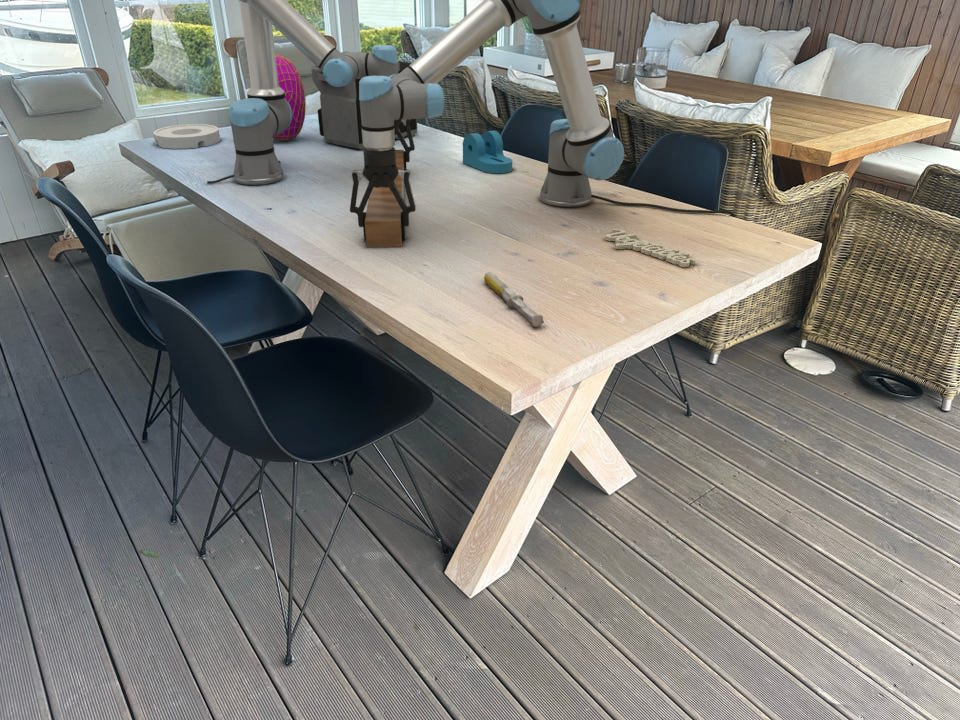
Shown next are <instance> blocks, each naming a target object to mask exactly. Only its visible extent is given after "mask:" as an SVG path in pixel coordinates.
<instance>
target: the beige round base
mask: <svg viewBox="0 0 960 720" xmlns="http://www.w3.org/2000/svg"><path fill="white" fill-rule="evenodd" d="M152 135H153V139H154V143H155V146H158V147H160V148H163V149H173V150H183V149H185V150H186V149H197V148H199V147H208V146H212V145H214V144H215V145H216V144H217V143H219V142H220V141H221V136H220V129H219V127H218V126H216V125H212V124H204V123H186V124H175V125H168V126H163V127H160V128H158V129H155V130H154V131H153V132H152Z"/></svg>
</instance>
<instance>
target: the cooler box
mask: <svg viewBox="0 0 960 720" xmlns="http://www.w3.org/2000/svg"><path fill="white" fill-rule="evenodd" d="M358 52H359V53H367V52H365V51H358ZM397 61H398V73H399V74H400V73H401V72H402V71H403V70H404V69H405V68H407V67H408V66H409V65H410V64H411V63H412V62H408V61H400V60H397ZM311 77H312V83H314V85H315V87H316V89H317V90H318V92H319V101H320V108H319V109H317V119H318V120H317V121H318V128H319V136H321V137H323V139H324V142H325V143H328V144H332V145H336V146H337V145H338V146H342V147H347V148H351V149H356V150H362V151H363V150H364V148H365V147H364V146H363V139H362V122H361V110H360V100H359V82H360V80H361V79H356V80H354V81H352V82H350V83H349V84H347V85H345V86H341V87H334V86H332V85H330V84H329V83H328V82H327V81H326V79H325V77H324V75H323V72H322V71H321V70H320V69H319V68H318V67H317V66H316V65H315V66H312V67H311ZM398 127H399V129H400V132H401V134H402V135H403V137H404V138H405V137H408V135H407V131H406V126H405V125H404V124H403V122H401V123H400V124H399V126H398ZM410 130H411V134H412V137H414V136H415V135H416V134H417V133H418V119H410ZM394 132H395V130H394ZM395 140H399V138H398V136H397V134H396V132H395Z"/></svg>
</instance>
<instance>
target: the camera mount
mask: <svg viewBox="0 0 960 720" xmlns="http://www.w3.org/2000/svg"><path fill="white" fill-rule="evenodd" d="M462 164H463V165H467V166H469V167H472V168H473V169H477V170H479V171H482V172H483V173H487V174H505V173H510V172H512V171H513V159H512V158H510V157H508V156H505V155H504V142H503V138H502V135H501V134H500V132H499V131H497V130H488V131H485V132H483V133H482V134H480V133H477V132H474V133H468V134H466V135H465V136H464V137H463V140H462Z"/></svg>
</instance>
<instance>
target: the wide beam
mask: <svg viewBox="0 0 960 720" xmlns="http://www.w3.org/2000/svg"><path fill="white" fill-rule="evenodd" d="M404 151H405V149H395V152H396V166H397V168H398V170H403V171H404V154H403V152H404ZM394 182H395V184H396V187H397V188H398V190H399V192H400V194H401V196H402V198H403V199H404V200H405V197H404V196H405V195H404V194H405V186H404V180H402V179H401V177H400V176H399V175H397V177H396V178H395V180H394ZM366 206H367V207H366V211H365V212H366V217H365V232H366V241H365V242H366V243H365V244H366V245H365V246H366V248H397V247H398V248H402V247H403V240H402V232H401V212H403V211H402V209H401V207H400V205H399V204H398V202H397V200H396V198H395V196H394V195H393V193H392V191H391V190H390V188H389V187H378V188H375V187H373V190H372V192H371V194H370V196H369V199H368V201H367V205H366Z"/></svg>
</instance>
